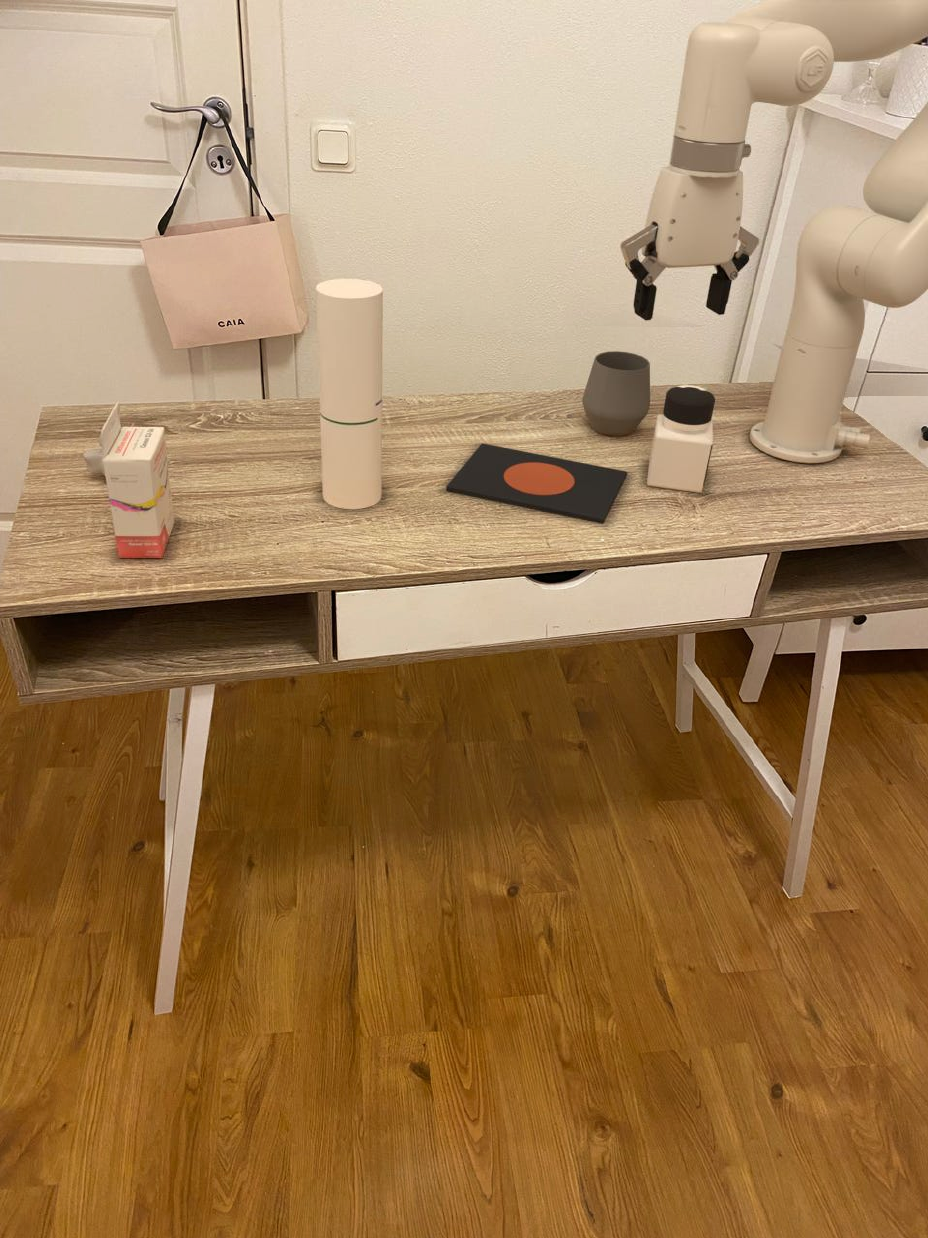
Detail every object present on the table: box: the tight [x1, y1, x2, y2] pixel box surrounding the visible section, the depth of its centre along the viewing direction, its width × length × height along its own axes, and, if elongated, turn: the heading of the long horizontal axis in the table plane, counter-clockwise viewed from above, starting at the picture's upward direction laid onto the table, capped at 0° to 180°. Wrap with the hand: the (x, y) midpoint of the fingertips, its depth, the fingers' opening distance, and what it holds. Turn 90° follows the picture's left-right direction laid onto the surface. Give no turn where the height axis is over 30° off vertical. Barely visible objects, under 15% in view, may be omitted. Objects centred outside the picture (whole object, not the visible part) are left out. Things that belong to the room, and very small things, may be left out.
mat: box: [445, 443, 628, 524], centre depth 127 cm, size 20×14×1 cm
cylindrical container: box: [315, 278, 384, 510], centre depth 115 cm, size 7×7×25 cm
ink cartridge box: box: [100, 401, 175, 559], centre depth 106 cm, size 9×5×15 cm, turn 5°
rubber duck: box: [82, 422, 114, 477], centre depth 120 cm, size 5×7×8 cm
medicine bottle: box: [646, 384, 716, 494], centre depth 127 cm, size 7×7×12 cm
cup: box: [581, 350, 651, 437], centre depth 139 cm, size 10×9×10 cm
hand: (679, 313), depth 117 cm, fingers open, 9 cm apart
